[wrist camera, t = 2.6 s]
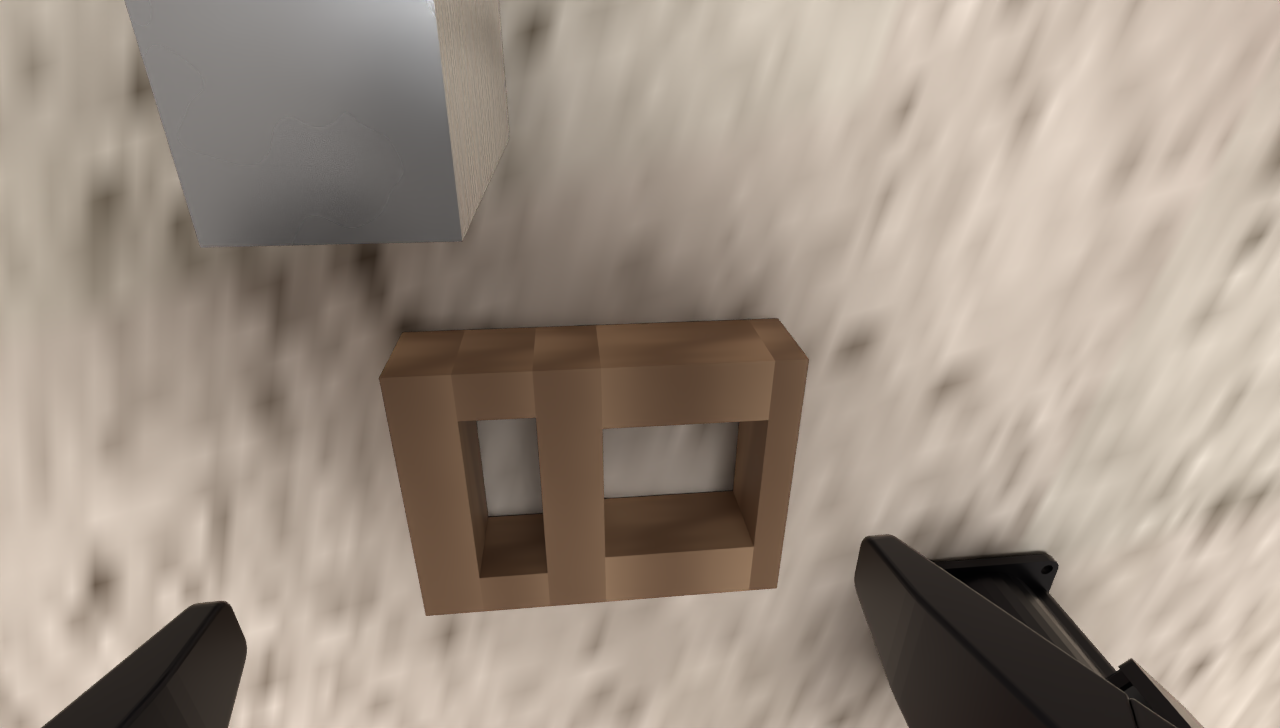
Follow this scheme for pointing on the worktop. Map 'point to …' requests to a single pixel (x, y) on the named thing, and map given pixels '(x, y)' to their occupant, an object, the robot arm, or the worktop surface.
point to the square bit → (328, 115)
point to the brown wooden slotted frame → (592, 459)
